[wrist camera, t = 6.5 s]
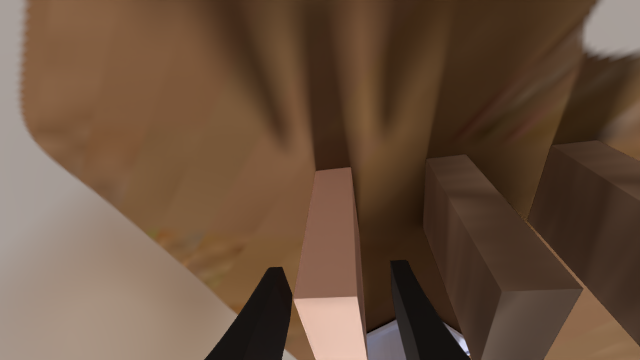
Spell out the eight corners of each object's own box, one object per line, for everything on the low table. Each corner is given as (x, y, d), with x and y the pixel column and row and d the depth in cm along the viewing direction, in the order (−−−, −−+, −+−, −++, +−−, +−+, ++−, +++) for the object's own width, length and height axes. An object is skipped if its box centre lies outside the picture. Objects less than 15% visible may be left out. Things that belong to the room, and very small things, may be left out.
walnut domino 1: (423, 227, 17) (476, 373, 10) (426, 158, 14) (502, 291, 7) (456, 225, 16) (535, 373, 10) (465, 154, 14) (583, 288, 7)
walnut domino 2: (527, 220, 16) (665, 374, 9) (551, 145, 13) (770, 282, 6) (564, 217, 15) (737, 376, 9) (596, 140, 13) (876, 279, 6)
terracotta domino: (329, 234, 18) (320, 371, 11) (315, 170, 15) (293, 298, 8) (359, 232, 17) (369, 372, 10) (350, 167, 15) (357, 296, 8)
